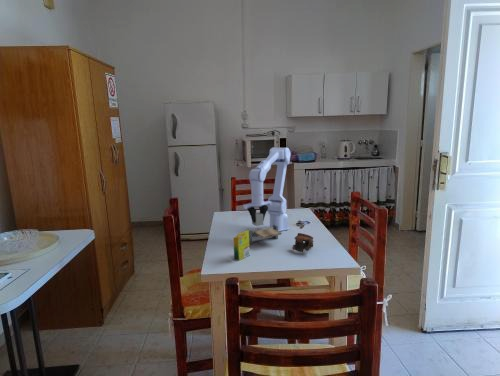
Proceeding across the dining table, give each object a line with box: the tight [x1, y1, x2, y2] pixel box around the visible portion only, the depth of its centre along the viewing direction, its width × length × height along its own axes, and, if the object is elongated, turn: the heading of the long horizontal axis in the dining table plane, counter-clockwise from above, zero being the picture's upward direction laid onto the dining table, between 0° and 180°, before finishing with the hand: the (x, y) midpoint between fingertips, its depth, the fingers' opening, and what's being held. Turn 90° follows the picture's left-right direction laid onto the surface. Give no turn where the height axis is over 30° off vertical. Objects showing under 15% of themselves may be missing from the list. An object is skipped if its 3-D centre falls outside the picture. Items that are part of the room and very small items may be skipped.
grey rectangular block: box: [251, 211, 264, 227], centre depth 161 cm, size 4×4×6 cm
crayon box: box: [232, 229, 250, 261], centre depth 142 cm, size 7×3×12 cm, turn 140°
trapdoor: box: [249, 226, 282, 238], centre depth 160 cm, size 12×14×3 cm
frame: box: [248, 225, 279, 246], centre depth 163 cm, size 16×6×7 cm, turn 118°
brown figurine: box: [292, 232, 314, 253], centre depth 149 cm, size 12×9×8 cm
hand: (257, 221), depth 161 cm, fingers closed on grey rectangular block, 4 cm apart
